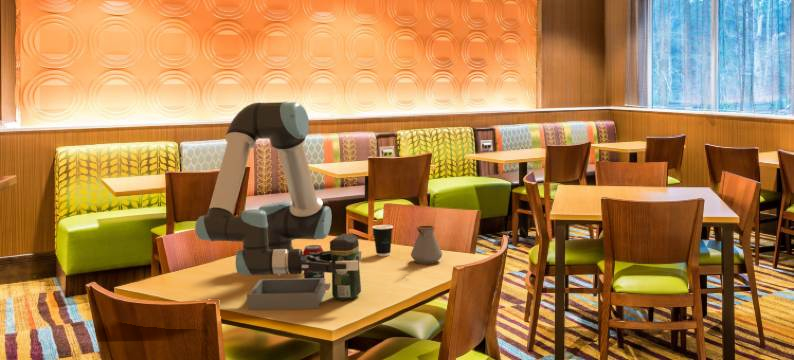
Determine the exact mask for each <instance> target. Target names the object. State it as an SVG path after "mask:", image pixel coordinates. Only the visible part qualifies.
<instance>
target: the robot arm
mask: <svg viewBox="0 0 794 360" xmlns="http://www.w3.org/2000/svg"><path fill="white" fill-rule="evenodd" d="M308 115H309V114H308V113H307V111H306V109H305V107H304V106H303V105H302V104H301V103H299V102H295V101H293V102H292V101H283V102H282V101H280V102H253V103H251V104H248V105H247V106H245V107H243V108H242V109H241V110H240V111H238V113H237V114H236V115H235V116H234V117H233V119H232V120H231V122H230V124H229V125H228V128H227V130H226V134H225V137H224V139H225V141H226V142H227V143H226V145H225V146H226V147H225V150H224V154H223V156H222V161H221V164H220V167H219V171H218V174H217V178H216V182H215V187H214V189H213V193H212V196H211V201H210V204H209V207H208V208H209V209H208V211H207V214H205V215H200V216H199V217H197V218H198V219H196V221H195V226H194V230H195V231H194V232H195V235H196V237H197V238H198V239H199V240H201V241H208V242H209V241H210V242H219V241H220V242H242V249H239V250H238V251H237V252H236V254H235V270H236V272H237V273H238V274H239V275H242V276H244V275H245V276H263V275H264V276H265V275H266V276H267V275H277V276H278V277H281V276H282V275H288V274H290V275H301V274H303V272H304V271H318V272H324V273H328V274H330V273H331V275H332V274H335V269H336V271H351V270H358V261H335V262H331V253H330V250H326V251H325V250H323V252H315V253H310V252H309V253H308V255H306V256H303V250H302V249H301V248H294V247H293V244H292V241H293V240H296V239H297V240H314V241H315V240H324V239H325V238H327V236H328V235H329V233H330V231H331V230H330V229H331V226H332V215H333V214H332V210H331V208H330V206H327V205H326V206H325V205H324V203H323V200H322V199H321V198H320V197H319V196H317V194H316V190H315V186H314V182H313V178H312V173H311V171H310V167H309V163H308V159H307V155H306V151H305V147H304V144H303V143H305V141H306V137H307V136H308V134H309V130H310V125H309V123H310V120H309V116H308ZM258 139H259V140H260V139H261V140H262V139H267V140H268V139H269V142H270V145H271V147H272V148H273V149H275V150H276V151H277V153H278V157H279V160H280V163H281V167H282V171H283V175H284V178H285V181H286V185H287V188H288V192H289V196H290V199H291V202H292V203H291V202H290V201H278V202H272V203H267V204H264V205H260V206H259V208H257V209H256V208H255V209H245V210H242V211H241V215H240V216H234V212H235V209H236V204H237V201H238V197H239V193H240V189H241V186H242V183H243V179H244V174H245V170H246V167H247V163H248V159H249V155H250V152H251V149H253V148H254V147H255V145H256V142H257V141H258ZM359 261H362V250H359Z"/></svg>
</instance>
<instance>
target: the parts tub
mask: <svg viewBox="0 0 794 360" xmlns="http://www.w3.org/2000/svg"><path fill="white" fill-rule="evenodd" d="M330 288H331V283H328V282H327V283H326V278H325V277H324V278H305V279H304V278H265V279H264V278H261V279H259V280H258V281H257V282H256V283H255V285H254V286H253V287H252V288H251V289H250V290H249V292H248V293H247V294H246V301H247V302H246V303H247V311H263V310H264V311H266V310H267V311H268V310H269V311H271V310H272V311H273V310H318V309H319V308H320V306H321V304H322V300H323V299H324V297H325V294H326V291H329V290H330Z"/></svg>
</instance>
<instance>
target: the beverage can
mask: <svg viewBox="0 0 794 360" xmlns="http://www.w3.org/2000/svg"><path fill="white" fill-rule="evenodd" d="M323 251H324V249H323V247H322V245H319V244H310V245H306V246H304V249H303V250H302V252H303V256H306V255H308V253H309V252H310V253H315V252H323ZM305 278H325V272H318V271H303V279H305Z"/></svg>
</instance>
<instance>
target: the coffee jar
mask: <svg viewBox="0 0 794 360" xmlns="http://www.w3.org/2000/svg"><path fill="white" fill-rule="evenodd" d="M359 244H360V242H359V238H358V237H357V235H356V234H353V233H342V234H339V235H338V236H337V237H335V238H333V239H331V240H330V241H329V251H330V253H331V262H335V261H358V270H351V271H336V269H335V274H332V273H331V290H332V292H331V294H332V297H333V298H336V299H339V300H346V299H348V300H349V299H354V298H356V297H357V296H359V294H360V293H361V291H362V285H361V283H362V282H361V272H360V260H359V251H360V250H359V249H360V248H359V247H360V245H359Z"/></svg>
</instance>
